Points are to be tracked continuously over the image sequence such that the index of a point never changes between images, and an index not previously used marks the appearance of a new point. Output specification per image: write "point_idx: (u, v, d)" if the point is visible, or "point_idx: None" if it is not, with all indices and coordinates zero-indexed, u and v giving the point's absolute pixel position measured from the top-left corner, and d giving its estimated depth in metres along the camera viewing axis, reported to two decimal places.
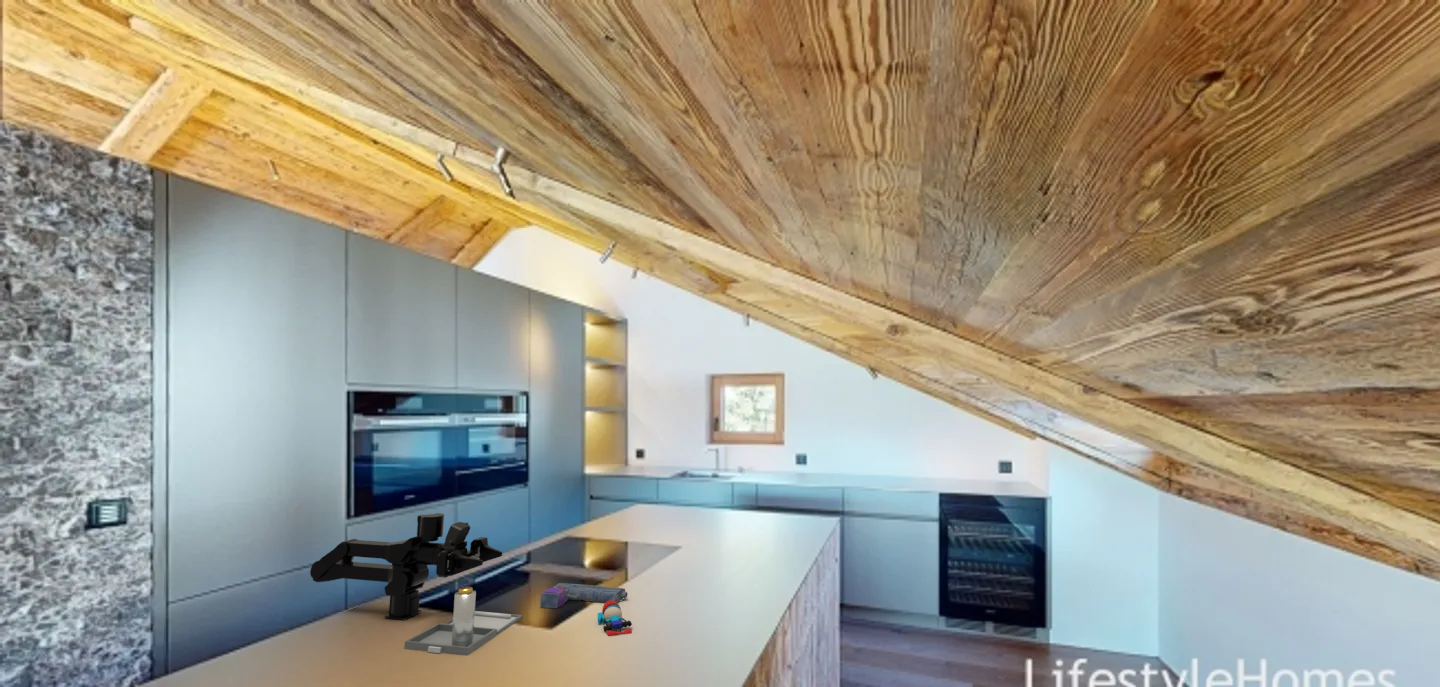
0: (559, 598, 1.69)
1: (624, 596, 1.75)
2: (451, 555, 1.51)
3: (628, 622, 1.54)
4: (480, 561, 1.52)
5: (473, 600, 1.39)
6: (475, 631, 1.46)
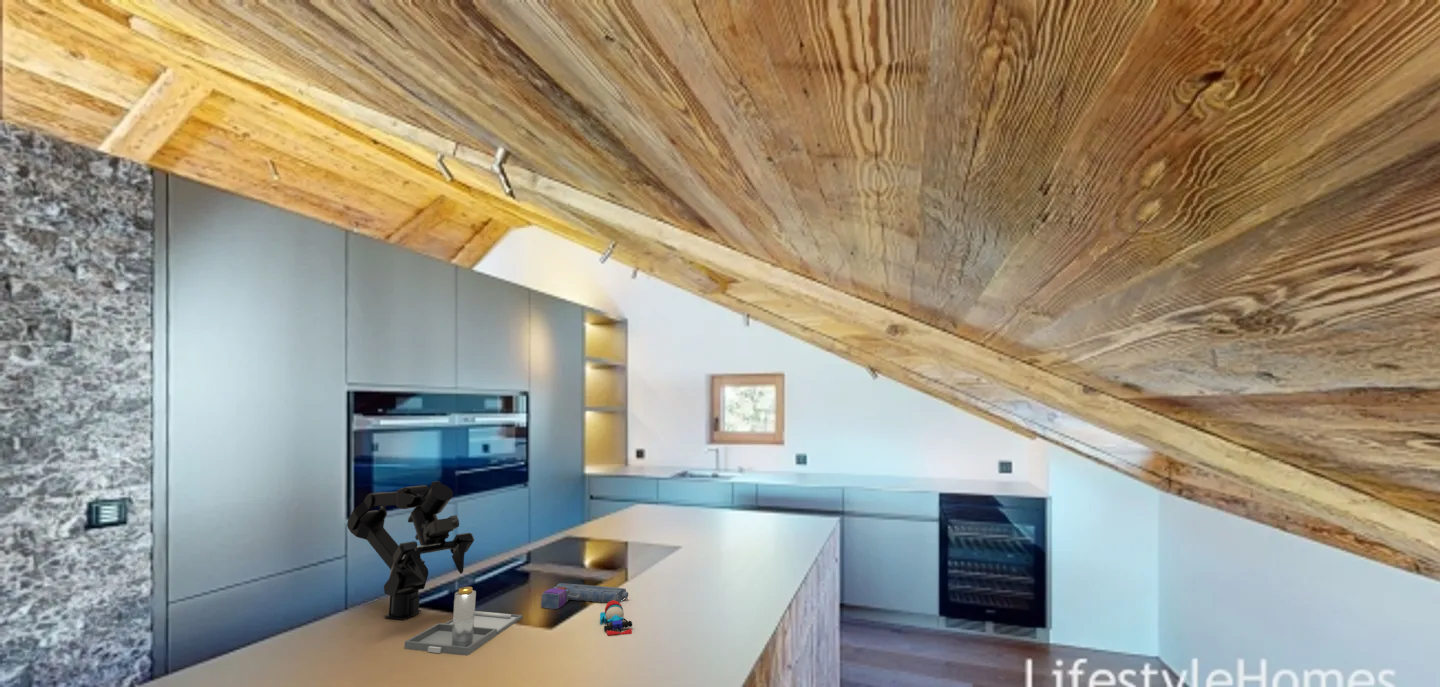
0: (560, 598, 1.69)
1: (625, 596, 1.75)
2: (407, 554, 1.46)
3: (629, 622, 1.54)
4: (424, 578, 1.46)
5: (473, 600, 1.39)
6: (475, 631, 1.46)
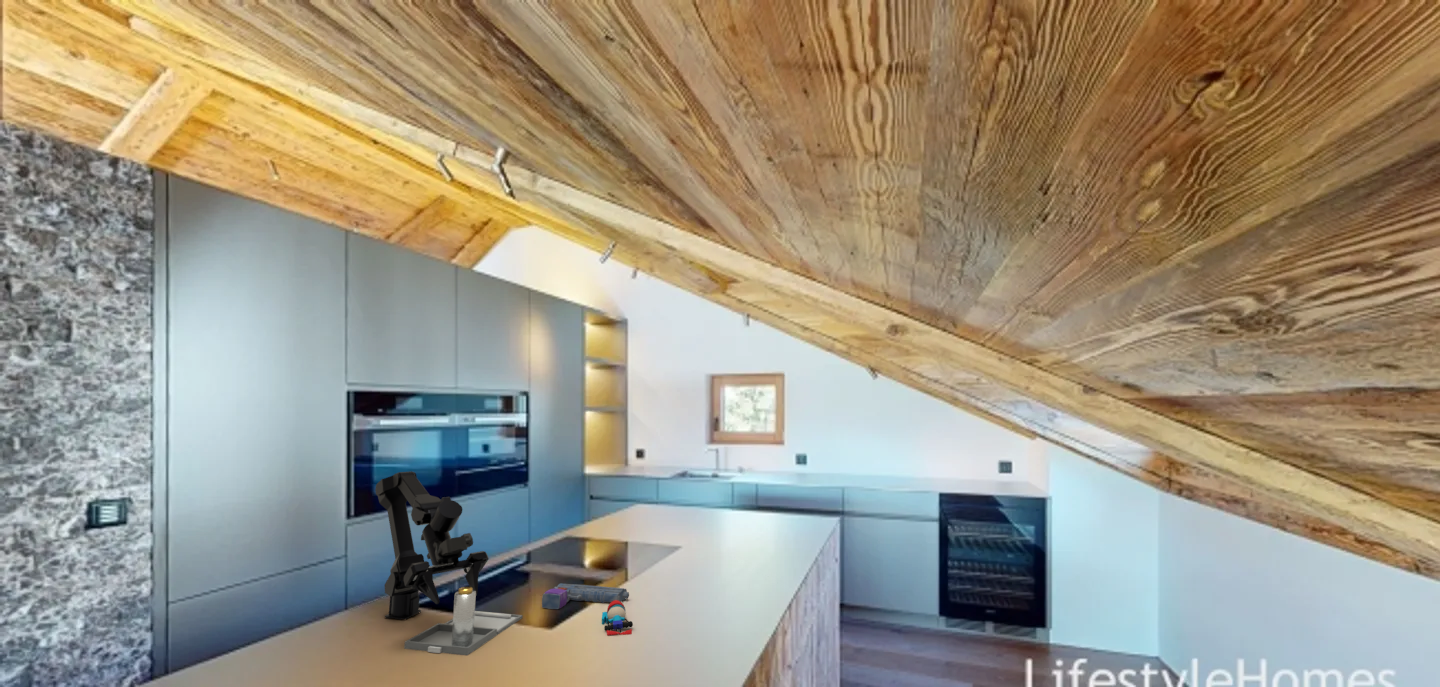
0: (561, 599, 1.68)
1: (626, 596, 1.75)
2: (419, 575, 1.38)
3: (629, 623, 1.53)
4: (437, 601, 1.38)
5: (473, 600, 1.39)
6: (475, 631, 1.46)
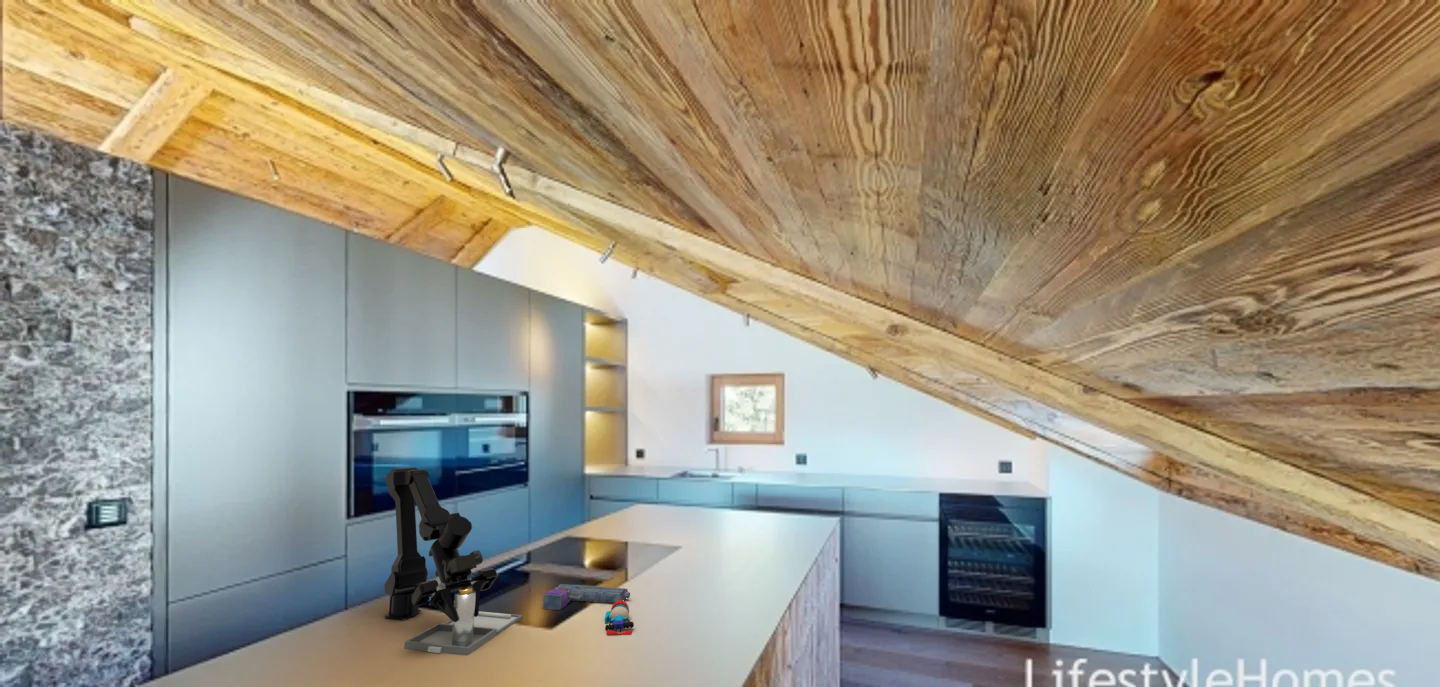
0: (562, 599, 1.68)
1: (627, 596, 1.75)
2: (437, 593, 1.36)
3: (630, 623, 1.53)
4: (455, 619, 1.36)
5: (473, 600, 1.39)
6: (475, 631, 1.46)
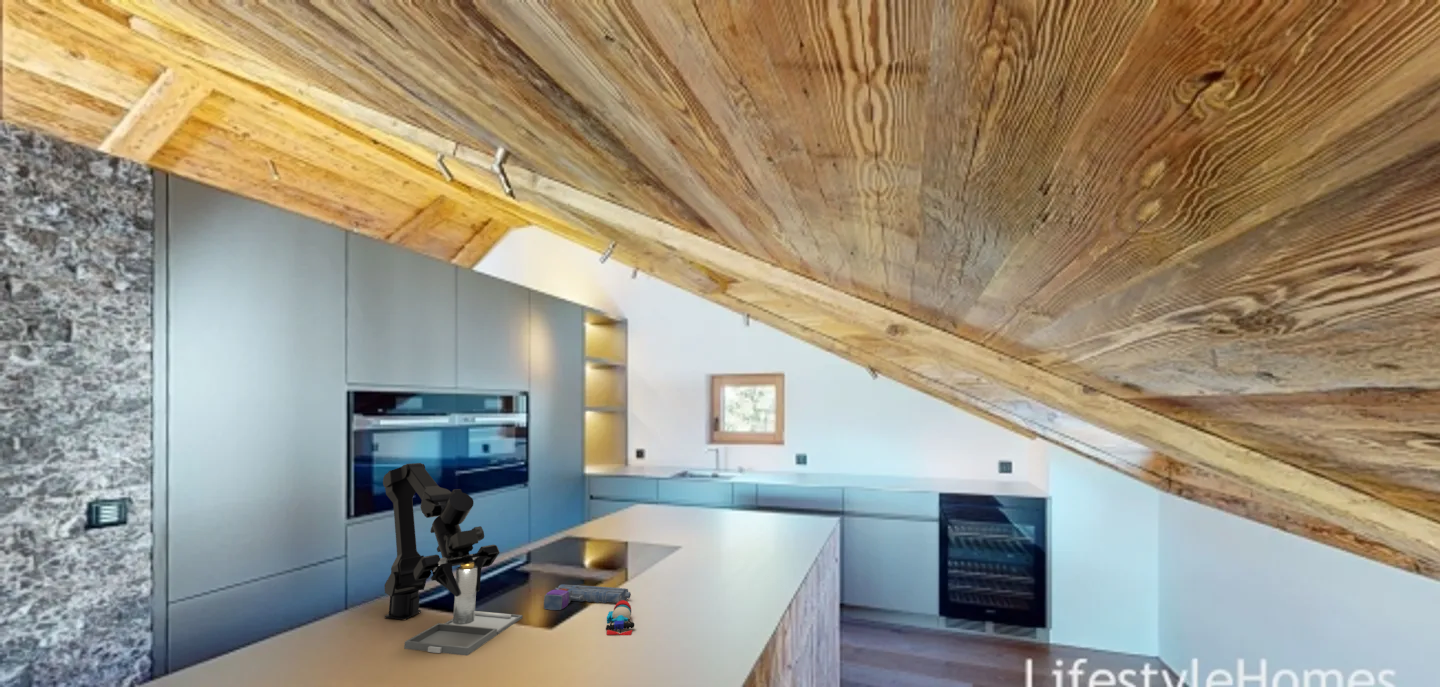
0: (563, 600, 1.68)
1: (627, 596, 1.75)
2: (438, 567, 1.37)
3: (631, 624, 1.53)
4: (456, 593, 1.37)
5: (475, 575, 1.39)
6: (475, 631, 1.46)
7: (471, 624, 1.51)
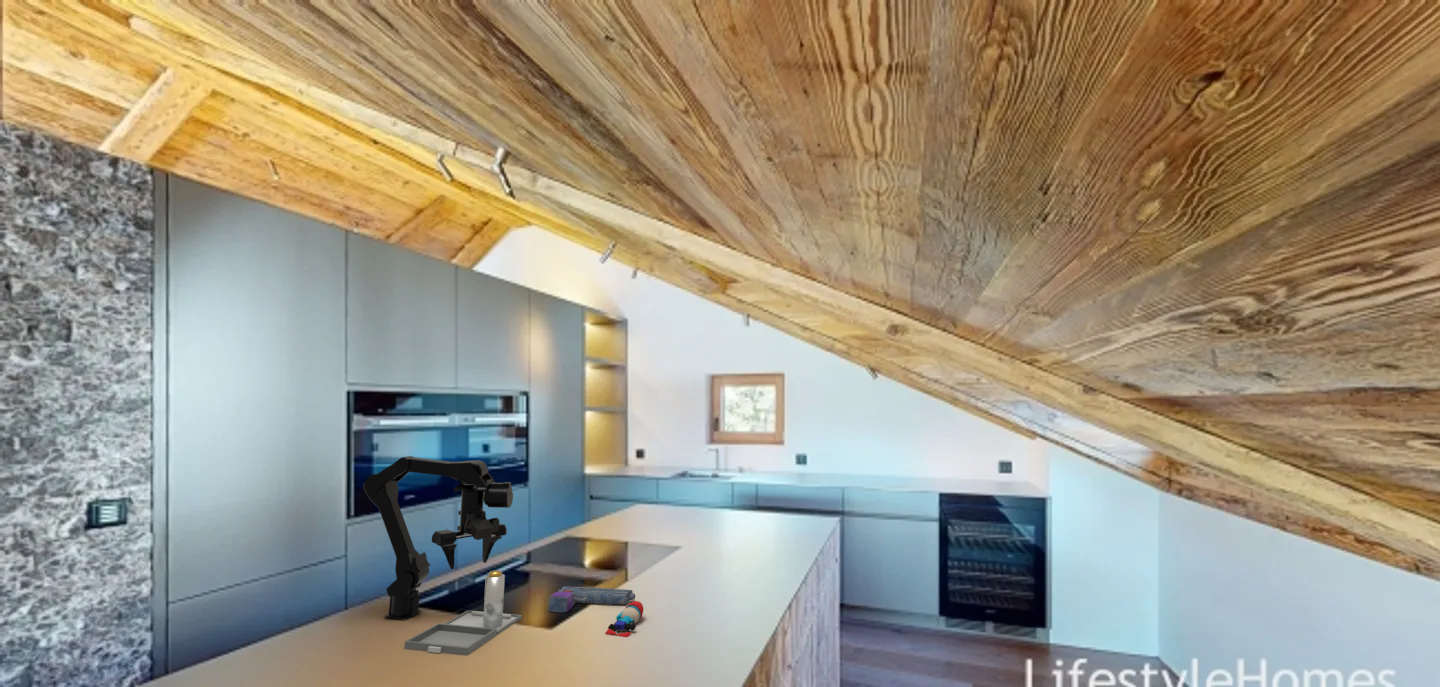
0: (568, 602, 1.66)
1: (632, 598, 1.74)
2: (444, 546, 1.56)
3: (631, 625, 1.51)
4: (451, 567, 1.58)
5: (502, 582, 1.52)
6: (475, 631, 1.46)
7: (471, 624, 1.51)
